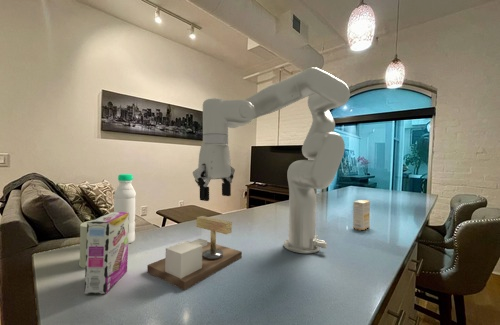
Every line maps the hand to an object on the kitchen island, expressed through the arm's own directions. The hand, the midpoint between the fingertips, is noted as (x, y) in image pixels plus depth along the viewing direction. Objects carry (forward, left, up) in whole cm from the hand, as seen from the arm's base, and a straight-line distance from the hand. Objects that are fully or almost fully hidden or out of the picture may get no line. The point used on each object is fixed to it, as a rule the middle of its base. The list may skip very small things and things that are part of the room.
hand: (216, 198), depth 70 cm
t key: (0, +1, -18) cm, 17 cm away
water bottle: (+38, +7, -20) cm, 44 cm away
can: (+28, +20, -20) cm, 40 cm away
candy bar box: (+13, +24, -20) cm, 34 cm away
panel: (+3, +4, -20) cm, 20 cm away
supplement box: (-31, -69, -20) cm, 78 cm away
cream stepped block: (0, +10, -18) cm, 20 cm away
